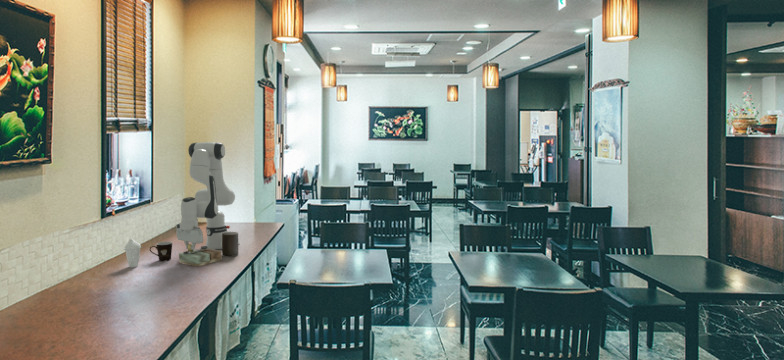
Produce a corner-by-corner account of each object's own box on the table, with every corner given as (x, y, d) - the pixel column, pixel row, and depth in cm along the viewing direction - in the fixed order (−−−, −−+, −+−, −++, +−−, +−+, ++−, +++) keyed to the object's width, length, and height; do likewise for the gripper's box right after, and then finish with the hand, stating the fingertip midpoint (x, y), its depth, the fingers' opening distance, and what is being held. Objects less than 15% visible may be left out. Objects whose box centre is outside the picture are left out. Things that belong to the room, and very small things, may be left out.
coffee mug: (175, 258, 281) (175, 241, 280) (167, 261, 272) (167, 245, 271) (157, 257, 282) (157, 241, 281) (149, 261, 274) (148, 244, 273)
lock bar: (204, 248, 281) (204, 240, 280) (208, 249, 279) (208, 241, 278) (186, 253, 270) (186, 244, 270) (190, 253, 268) (190, 245, 268)
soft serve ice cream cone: (145, 265, 265) (144, 237, 263) (132, 269, 257) (131, 240, 256) (134, 263, 268) (132, 236, 266) (121, 267, 260) (120, 239, 258)
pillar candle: (223, 257, 284) (223, 233, 282) (221, 253, 292) (220, 230, 291) (239, 255, 288) (239, 232, 287) (237, 252, 297) (237, 229, 295)
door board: (204, 256, 286) (204, 245, 285) (221, 260, 277) (221, 249, 277) (179, 262, 271) (178, 251, 271) (196, 266, 263) (196, 255, 262)
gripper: (205, 226, 266) (206, 250, 268) (183, 223, 277) (184, 245, 278) (196, 228, 261) (196, 252, 262) (174, 224, 272) (174, 247, 273)
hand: (190, 249), depth 270 cm, fingers open, 3 cm apart
